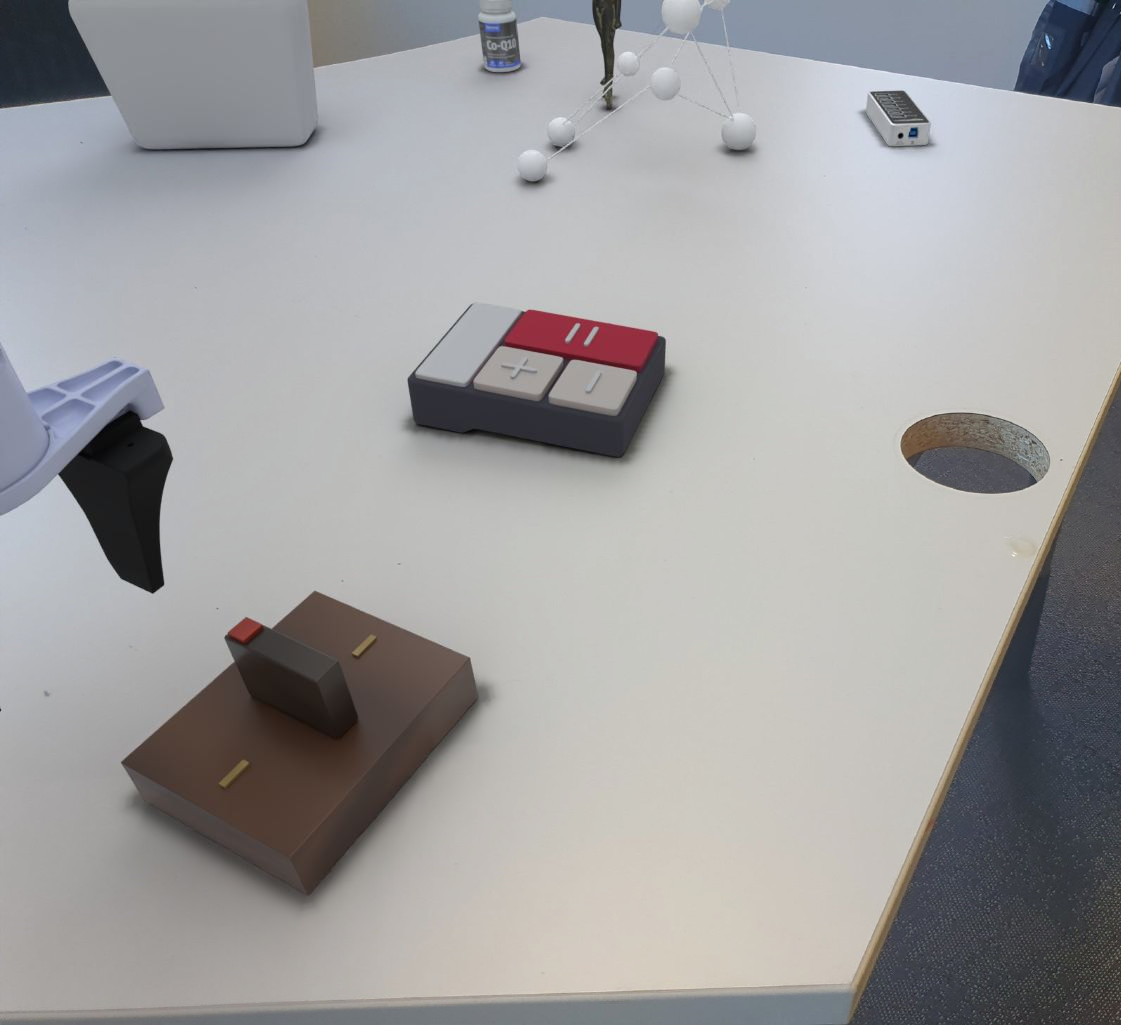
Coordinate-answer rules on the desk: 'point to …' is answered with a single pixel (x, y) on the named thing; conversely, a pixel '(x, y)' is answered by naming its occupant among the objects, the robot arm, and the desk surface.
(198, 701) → the plate
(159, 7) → the radio
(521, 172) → the molecule model
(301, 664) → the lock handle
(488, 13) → the pill bottle
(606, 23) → the statue
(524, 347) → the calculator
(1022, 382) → the desk surface
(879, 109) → the multiport hub
